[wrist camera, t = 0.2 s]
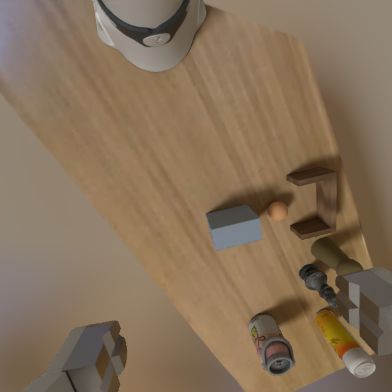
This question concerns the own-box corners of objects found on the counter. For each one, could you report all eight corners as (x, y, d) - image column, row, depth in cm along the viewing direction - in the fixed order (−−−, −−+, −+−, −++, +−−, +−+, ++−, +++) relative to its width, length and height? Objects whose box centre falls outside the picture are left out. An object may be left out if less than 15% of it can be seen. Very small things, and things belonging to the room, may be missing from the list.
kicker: (205, 213, 49) (211, 229, 41) (246, 203, 49) (259, 218, 42) (209, 231, 51) (215, 250, 43) (249, 222, 51) (262, 239, 43)
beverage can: (248, 311, 60) (264, 354, 49) (276, 308, 61) (299, 349, 49) (246, 334, 63) (262, 380, 52) (273, 331, 64) (294, 375, 52)
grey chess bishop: (310, 259, 56) (344, 293, 45) (322, 270, 58) (358, 306, 46) (293, 273, 57) (322, 310, 46) (306, 284, 59) (337, 322, 47)
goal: (286, 175, 48) (298, 180, 43) (321, 167, 48) (337, 171, 43) (290, 229, 52) (301, 239, 48) (321, 221, 52) (336, 231, 48)
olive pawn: (318, 234, 54) (353, 261, 43) (337, 241, 55) (374, 268, 45) (306, 253, 55) (337, 283, 45) (324, 259, 57) (358, 290, 46)
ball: (263, 201, 49) (271, 208, 45) (281, 196, 49) (291, 203, 45) (265, 217, 51) (273, 225, 46) (282, 213, 51) (292, 221, 46)
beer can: (309, 317, 63) (348, 372, 49) (325, 304, 62) (369, 358, 48) (320, 326, 65) (360, 382, 51) (336, 314, 64) (381, 368, 50)
